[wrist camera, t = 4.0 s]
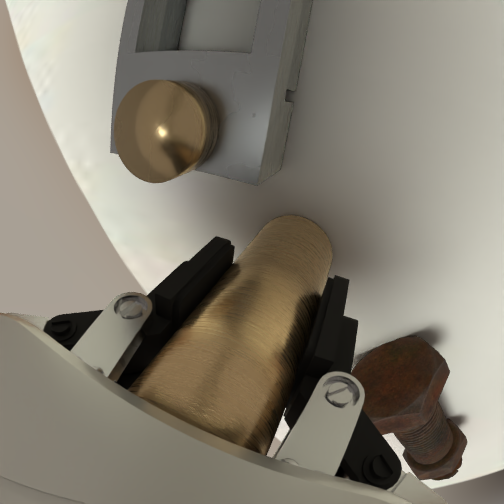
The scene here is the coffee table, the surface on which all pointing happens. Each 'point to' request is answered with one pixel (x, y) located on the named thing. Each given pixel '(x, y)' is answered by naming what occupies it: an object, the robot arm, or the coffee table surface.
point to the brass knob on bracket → (205, 95)
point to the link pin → (245, 338)
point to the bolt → (412, 404)
